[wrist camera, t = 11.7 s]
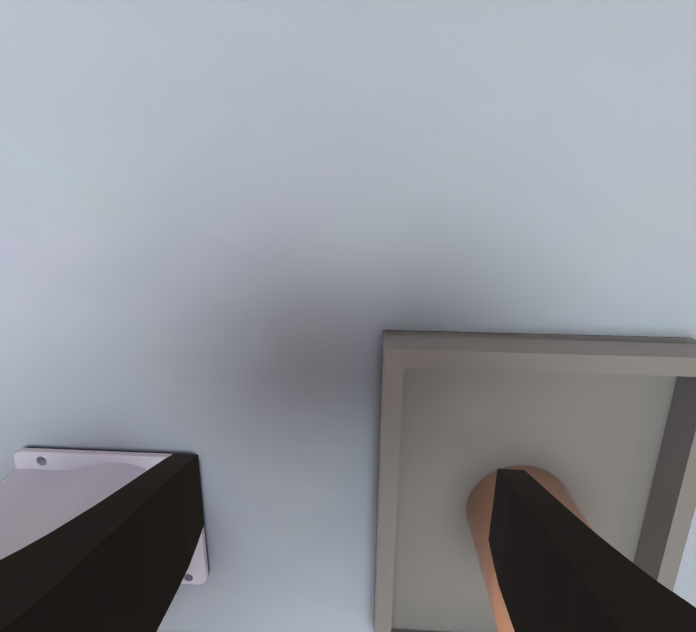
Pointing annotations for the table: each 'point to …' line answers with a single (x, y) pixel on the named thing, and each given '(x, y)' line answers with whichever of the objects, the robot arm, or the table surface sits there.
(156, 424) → the table surface
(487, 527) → the cup
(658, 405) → the tray
